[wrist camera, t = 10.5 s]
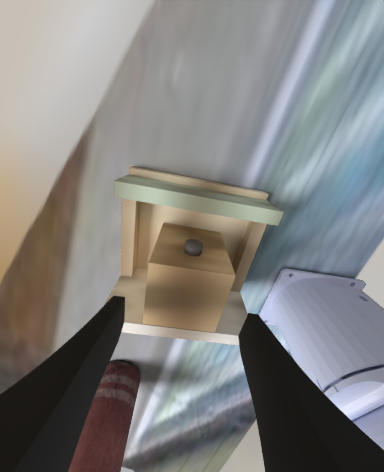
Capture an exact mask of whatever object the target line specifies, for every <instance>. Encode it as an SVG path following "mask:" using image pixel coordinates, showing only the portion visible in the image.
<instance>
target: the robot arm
mask: <svg viewBox="0 0 384 472" xmlns="http://www.w3.org/2000/svg"><path fill="white" fill-rule="evenodd" d="M290 273H291V274H290ZM289 274H290V275H289ZM365 285H366V284H365V282H364V281H362V280H357V279H351V278H345V277H338V276H332V275H325V274H319V273H312V272H306V271H300V270H293V269H283V270H281V272H280V273H279V275H278V277H277V280H276V282H275V284H274V286H273V288H272V290H271V292H270V294H269V296H268V298H267V300H266V302H265V304H264V306H263V308H262V310H261V312H260V314H259V315H258V314H250V313H248V315H247V317H246V320H245V322H244V324H243V326H242V328H241V331H240V333H239V335H238V338H239V346H240V352H241V357H242V361H243V365H244V369H245V373H246V377H247V381H248V385H249V388H250V392H251V396H252V400H253V404H254V409H255V413H256V418H257V424H258V429H259V435H260V441H261V447H262V453H263V459H264V466H265V472H384V309H383V308H382V307H381V306H379V304H377V303H376V302H375V301H374V300H373V299H371V298H370V297H369V296H368V295H366V294H365V293H364V292H363V291H362V289H363V288H364V287H365ZM124 320H125V297H122V296H115V295H114V296H112V297H111V299H110V300H109V301H108V302H107V303H106V304H105V305H104V306H103V307H102V308H101V309H100V311H99V312H98V313H97V314H96V315H95V316H94V317H93V318H92V319H91V320H90V321H89V322H88V323H87V324H86V325H85V326H84V327H83V328H81V329H80V330H79V331H78V332H77V333H76V334H75V335H74V336H73V337H72V338H71V339H69V340H68V341H67V342H66V343H65V344H64V345H63V346H62V347H61V348H59V349H58V350H57V351H56V352H55V353H53V354H52V355H51V356H50V357H49V358H47V359H46V360H45V361H44V362H42V363H41V364H40V365H39V366H37V367H36V368H35V369H34V370H32V371H31V372H30V373H28V374H27V375H26V376H24V377H23V378H22V379H20V380H19V381H18V382H17V383H15V384H14V385H12V386H11V387H10V388H8V389H7V390H6V391H4V392H3V393H1V394H0V472H68V471H69V468H70V465H71V462H72V459H73V456H74V453H75V450H76V447H77V444H78V441H79V438H80V436H81V433H82V430H83V427H84V424H85V421H86V418H87V415H88V413H89V410H90V407H91V404H92V401H93V399H94V396H95V394H96V391H97V389H98V386H99V384H100V382H101V380H102V377H103V375H104V373H105V370H106V368H107V366H108V364H109V361H110V359H111V357H112V354H113V352H114V350H115V347H116V345H117V343H118V340H119V337H120V334H121V331H122V328H123V325H124ZM266 324H268V325H276V326H278V328H279V330H280V332H281V334H282V336H283V338H284V340H285V342H286V344H287V346H288V348H289V350H290V352H291V354H292V356H293V358H294V359H293V358H292V357H291V356H290V355H289V353H288V352H287V351H286V350H285V348H284V347H283V346H282V345H281V343H280V342H279V341H278V340H277V338H276V337H275V336H274V334H273V333H272V332H271V330H270V329H269V328H268V327H267V325H266ZM294 360H295V361H294Z"/></svg>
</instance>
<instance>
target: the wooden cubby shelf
mask: <svg viewBox="0 0 384 472" xmlns="http://www.w3.org/2000/svg"><path fill="white" fill-rule="evenodd" d="M268 195H269V194H267V193H266V192H263V191H258V190H253V189H248V188H242V187H237V186H232V185H227V184H222V183H217V182H211V181H206V180H201V179H196V178H191V177H186V176H181V175H175V174H170V173H165V172H160V171H155V170H150V169H144V168H139V167H134V166H133V167H129V175H126V176H124V177H122V178H119V179H117V180H114V197H118V198H122V228H121V276H120V278H119V280H118V282H117V283H116V285H115V287H114V289H113V291H112V292H111V294H110V296H109V298H108V300H107V302H108V301H109V300H110V299H111V297H112V296H114V295H115V296H122V297H125V320H124V325H123V328H122V331H121V332H126V333H135V334H143V335H152V336H161V337H170V338H179V339H188V340H197V341H206V342H215V343H224V344H233V345H239V338H238V335H239V333H240V331H241V328H242V326H243V324H244V322H245V320H246V317H247V315H248V314H247V311H246V308H245V305H244V303H243V300H242V297H241V294H240V291H241V288H242V286H243V283H244V281H245V278H246V276H247V273H248V271H249V268H250V266H251V263H252V261H253V258H254V256H255V253H256V251H257V248H258V246H259V243H260V241H261V238H262V236H263V233H264V231H265V228H266V226H267V224H270V225H276V226H278V225H279V223H280V221H281V218H282V216H283V214H284V212H283V211H282V210H280V209H279V208H277V207H276V206H274V205H273V204H271V203H270V202H268V201H267V198H268ZM163 223H169V224H175V225H180V226H186V227H192V228H198V229H204V230H210V231H215V232H220V234H221V236H222V239H223V242H224V245H225V247H226V250H227V253H228V256H229V258H230V261H231V264H232V267H233V270H234V272H235V275H236V276H235V279H234V282H233V285H232V287H231V290H230V293H229V295H228V298H227V301H226V304H225V306H224V309H223V312H222V314H221V317H220V320H219V322H218V325H217V328H216V331H215V332H207V331H198V330H190V329H181V328H173V327H165V326H156V325H148V324H143V314H144V304H145V294H146V284H147V275H148V265H149V261H150V258H151V255H152V252H153V250H154V247H155V244H156V241H157V239H158V236H159V233H160V230H161V228H162V225H163ZM107 302H106V303H107ZM106 303H105V304H106Z"/></svg>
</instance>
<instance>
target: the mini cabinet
mask: <svg viewBox="0 0 384 472" xmlns="http://www.w3.org/2000/svg"><path fill="white" fill-rule="evenodd" d="M235 276H236V275H235V272H234V270H233V267H232V264H231V261H230V258H229V256H228V253H227V250H226V247H225V245H224V242H223V239H222V236H221V234H220V232H215V231H210V230H204V229H198V228H192V227H186V226H180V225H175V224H169V223H163V225H162V228H161V230H160V233H159V236H158V239H157V241H156V244H155V247H154V250H153V252H152V255H151V258H150V261H149V265H148V275H147V284H146V294H145V304H144V314H143V324H148V325H156V326H165V327H173V328H181V329H190V330H198V331H207V332H215V331H216V328H217V325H218V322H219V320H220V317H221V314H222V312H223V309H224V306H225V304H226V301H227V298H228V295H229V293H230V290H231V287H232V285H233V282H234V279H235Z"/></svg>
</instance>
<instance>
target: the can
mask: <svg viewBox="0 0 384 472" xmlns="http://www.w3.org/2000/svg"><path fill="white" fill-rule="evenodd" d="M140 378H141V377H140V372H139V369H138V368H137V367H136V366H135V365H133V364H132V363H129V362H126V361H121V360H115V361H110V362H109V364H108V366H107V368H106V370H105V373H104V375H103V377H102V380H101V382H100V384H99V386H98V389H97V391H96V394H95V396H94V399H93V401H92V404H91V407H90V410H89V413H88V415H87V418H86V421H85V424H84V427H83V430H82V433H81V436H80V438H79V441H78V444H77V447H76V450H75V453H74V456H73V459H72V462H71V465H70V468H69V471H68V472H120V471H121V466H122V461H123V457H124V452H125V448H126V443H127V438H128V434H129V429H130V425H131V420H132V415H133V411H134V406H135V401H136V397H137V392H138V388H139V383H140Z"/></svg>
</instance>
